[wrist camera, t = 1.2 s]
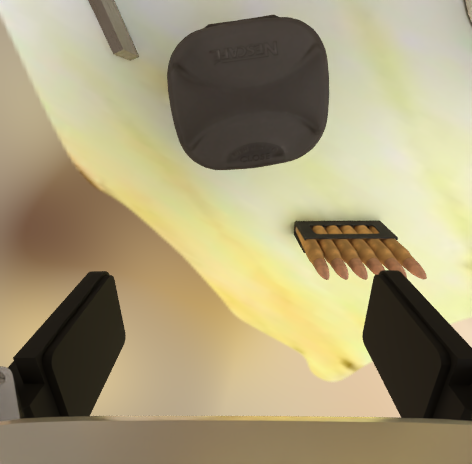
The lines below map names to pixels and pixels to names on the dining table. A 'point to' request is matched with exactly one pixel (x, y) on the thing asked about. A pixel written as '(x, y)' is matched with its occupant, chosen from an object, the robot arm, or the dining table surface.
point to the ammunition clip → (353, 248)
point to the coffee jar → (249, 92)
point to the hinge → (114, 28)
